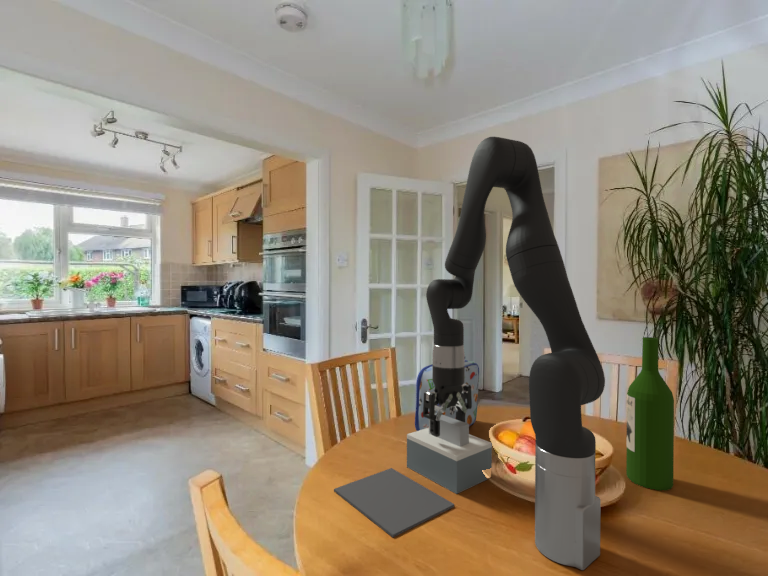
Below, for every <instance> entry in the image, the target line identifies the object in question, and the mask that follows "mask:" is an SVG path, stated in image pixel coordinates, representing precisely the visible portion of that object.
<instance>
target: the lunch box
mask: <svg viewBox="0 0 768 576" xmlns="http://www.w3.org/2000/svg"><path fill="white" fill-rule="evenodd" d="M432 374H433V363H432V364H429V365H426V366H424V367H422V368H421V369H420V371H419V372H418V374H417V376H416V383H415V386H416V390H415V414H414V428H415V430H416V431H419V430H422V429H426V428H429V419H428V418H425V417H423V403H424V392H425V391H428V392H434V389H435V385H434V383H433V381H432ZM479 383H480V367H479V365H478V363H477V362H476V361H470V360H467V359H465V382H464V384H468V385H471V397H472V408H471V409H468V410H467V412H466V413H465V423H468V424H469V427H470V426H472V425H474V424H475V423H476V420H477V417H478V401H479V399H478V398H479V396H478V395H479V385H480V384H479ZM465 400H466V403H467V399H465ZM437 406H439V407H441V406H440V405H439V404H438V405H437ZM437 412H438V411H436V413H437ZM456 412H457V410H456V408H455V407H454V406H451V407H449V408H446V410H445V412H444V413H442V415H445V416H448V417H451V418H453V419H456ZM428 413H429V408H428ZM416 431H415V432H416Z"/></svg>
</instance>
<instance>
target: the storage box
mask: <svg viewBox="0 0 768 576" xmlns="http://www.w3.org/2000/svg"><path fill="white" fill-rule="evenodd" d="M492 449H493V446H492V447H491V448H488V449H486V450H483V451H481V452H478V453H476V454H473V455H471V456H469V457H466V458H464V459H461V460H459V461H455V460H453V459H451V458H449V457H446V456H444V455H442V454H440V453H438V452H436V451H433V450H431V449H429V448H427V447H425V446H423V445H420V444H418V443H416V442H414V441H412V440H409V439H407V438H406V468H408V469H410V470H412V471H414V472H416V473H417V474H419V475H421V476H422V477H425V478H427V479H428V480H430V481H432V482H434V483H436V484H437V485H439V486H442V487H443V488H445V489H446V490H448V491H449V492H452V493H454V494H455V495H457V494H460V493H463V491H467V490H468V489H470V488H472V487H475V486H477V485H478V484H480V483H482V482H485V481H487V480H488V479H487V478H486V477H485V475H484V474H483V472H482V470H486V469H490V468H493V466H492V465H493V464H492V463H493V460H492V458H493V457H492V456H493V455H492V454H493V453H492V452H493V450H492Z"/></svg>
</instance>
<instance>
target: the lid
mask: <svg viewBox="0 0 768 576" xmlns="http://www.w3.org/2000/svg"><path fill="white" fill-rule="evenodd" d="M436 414H437V413H435V415H436ZM439 421H440V436H438V437H435V436H433V435H432V434H431V433H430V419H429V428H426V429H422V430H419V431H413V432H409V433H406V440H407V439H409V440H412V441H414V442H416V443H418V444H420V445H423V446H425V447H427V448H429V449H431V450H433V451H436V452H438V453H440V454H442V455H444V456H446V457H449V458H451V459H453V460H455V461H459V460H461V459H464V458H466V457H469V456H471V455H473V454H476V453H478V452H481V451H483V450H486V449H488V448H491V447H492V448H493V444H492V442H490V441H488V440H486V439H483V438H480V437H477V436H475V435H472V434H470V426H469V424H468V423H465V422H462V421H459V420H456V419H453V418H451V417H448V416H445V415H441V417H440V419H439Z"/></svg>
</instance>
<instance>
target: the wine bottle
mask: <svg viewBox="0 0 768 576" xmlns="http://www.w3.org/2000/svg"><path fill="white" fill-rule="evenodd" d="M674 428H675V398H674V394H673V392H672V389H671V388H670V387H669V385H668V384H667V383H666V381H665V380H664V378H663V376H662V375H661V373H660V371H659V338H657V337H653V336H652V337H650V336H645V337H642V357H641V370H640V372H639V373H638V375H637V376H636V377H635V379H634V380H633V381H632V382H631V383H630V385H628V388H627V392H626V440H625V441H626V444H625V445H626V458H625V459H626V462H625V463H626V467H625V469H626V474H625V475H626V477H627V479H628V478H629V479H630V480H631V481H632V482H631V481H630V480H629V479H628V480H629V481H630V482H631V483H633V482H634V483H633V484H634V485H637V484H638V485H637V486H639V485H640V486H639V487H641V486H643V487H642V488H644V487H645V489H648V488H650V490H652V489H655V490H654V491H662V490H664V491H669V490H672V489H673V487H674V465H675V464H674V459H675V458H674V453H675V452H674V451H675V448H674V446H675V443H674V442H675V441H674V440H675V439H674V438H675V437H674V436H675V433H674V432H675V429H674Z"/></svg>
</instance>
